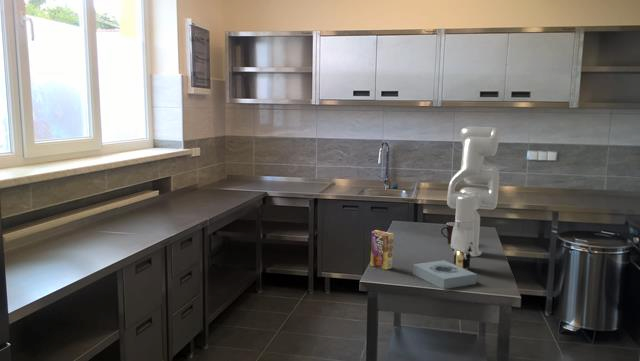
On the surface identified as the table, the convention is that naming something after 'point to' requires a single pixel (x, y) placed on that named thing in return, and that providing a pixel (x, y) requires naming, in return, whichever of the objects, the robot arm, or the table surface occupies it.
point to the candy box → (382, 249)
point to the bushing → (460, 259)
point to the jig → (444, 274)
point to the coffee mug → (449, 231)
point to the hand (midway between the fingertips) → (461, 265)
